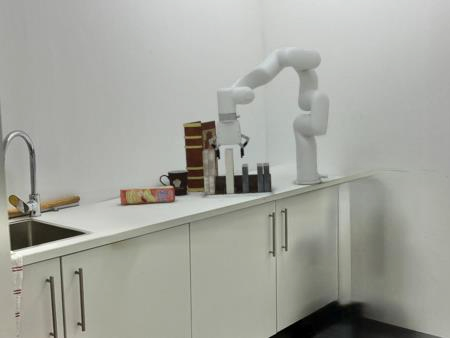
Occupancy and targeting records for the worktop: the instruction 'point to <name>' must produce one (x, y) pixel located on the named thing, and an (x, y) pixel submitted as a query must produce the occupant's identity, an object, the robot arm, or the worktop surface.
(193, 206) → the worktop surface
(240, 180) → the book rack
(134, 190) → the snack package
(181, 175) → the coffee mug
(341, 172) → the worktop surface
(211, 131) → the decorative book
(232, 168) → the ivory book
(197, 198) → the worktop surface
